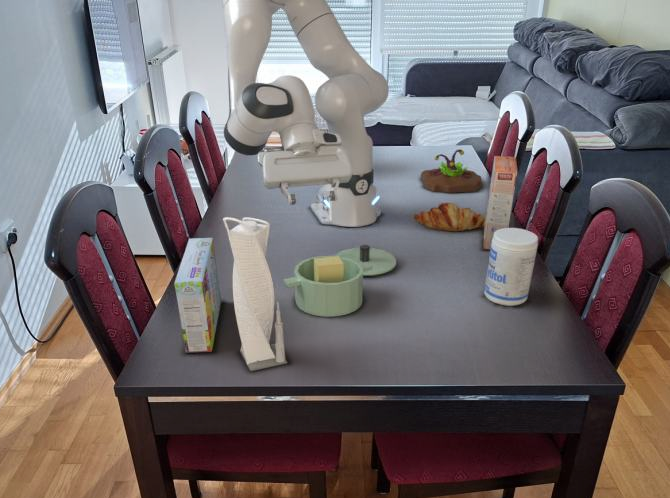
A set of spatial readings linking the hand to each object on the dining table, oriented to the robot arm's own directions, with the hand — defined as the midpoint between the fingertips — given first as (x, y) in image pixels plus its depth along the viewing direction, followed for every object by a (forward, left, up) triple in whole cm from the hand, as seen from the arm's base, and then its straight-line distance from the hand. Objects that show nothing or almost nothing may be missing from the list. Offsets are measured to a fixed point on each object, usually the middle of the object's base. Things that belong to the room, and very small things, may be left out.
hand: (313, 201), depth 143 cm
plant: (-46, +71, -19) cm, 86 cm away
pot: (+12, -2, -18) cm, 22 cm away
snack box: (+11, -30, -19) cm, 37 cm away
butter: (+12, -2, -18) cm, 22 cm away
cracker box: (+1, +52, -19) cm, 56 cm away
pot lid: (-2, +14, -18) cm, 23 cm away
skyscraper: (+27, -24, -19) cm, 41 cm away
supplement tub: (+28, +34, -19) cm, 48 cm away
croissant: (-13, +48, -19) cm, 53 cm away
